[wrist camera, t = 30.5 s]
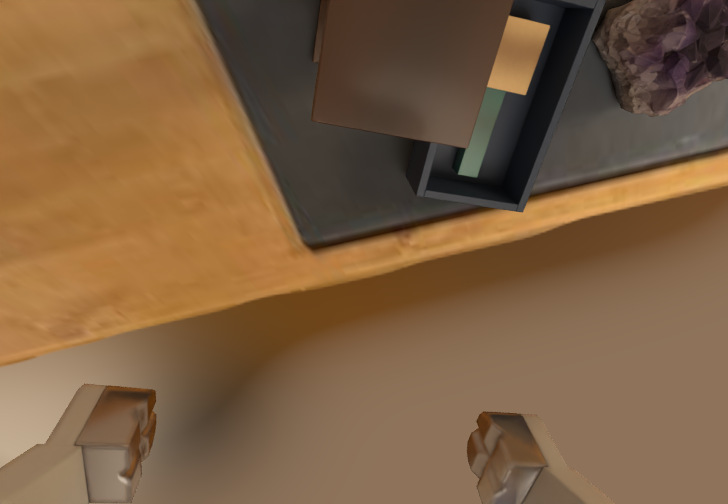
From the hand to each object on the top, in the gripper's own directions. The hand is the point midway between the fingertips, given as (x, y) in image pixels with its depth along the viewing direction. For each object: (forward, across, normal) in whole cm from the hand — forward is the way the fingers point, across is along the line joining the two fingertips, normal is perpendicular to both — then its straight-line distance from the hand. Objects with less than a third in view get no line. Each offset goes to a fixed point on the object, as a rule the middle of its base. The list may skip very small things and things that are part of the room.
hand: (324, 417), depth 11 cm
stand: (+39, -3, -9) cm, 40 cm away
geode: (+39, -35, -14) cm, 54 cm away
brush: (+38, -16, -4) cm, 42 cm away
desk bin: (+39, -16, -4) cm, 43 cm away
